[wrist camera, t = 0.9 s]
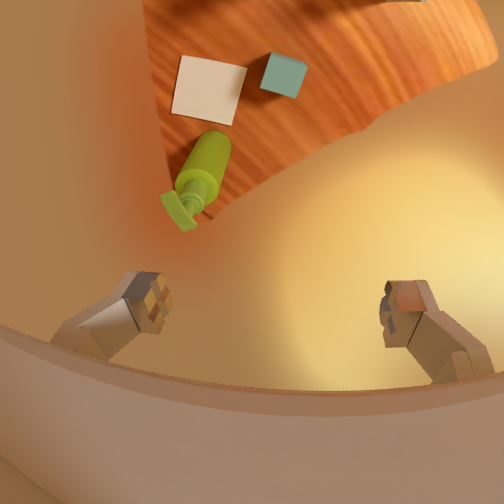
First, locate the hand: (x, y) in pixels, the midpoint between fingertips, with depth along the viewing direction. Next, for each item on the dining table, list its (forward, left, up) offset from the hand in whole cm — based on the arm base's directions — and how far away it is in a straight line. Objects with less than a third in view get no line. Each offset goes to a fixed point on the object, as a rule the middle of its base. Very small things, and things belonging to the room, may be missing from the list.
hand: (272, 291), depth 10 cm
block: (-1, +1, -38) cm, 38 cm away
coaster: (+5, -9, -38) cm, 39 cm away
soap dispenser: (+14, -7, -38) cm, 41 cm away
